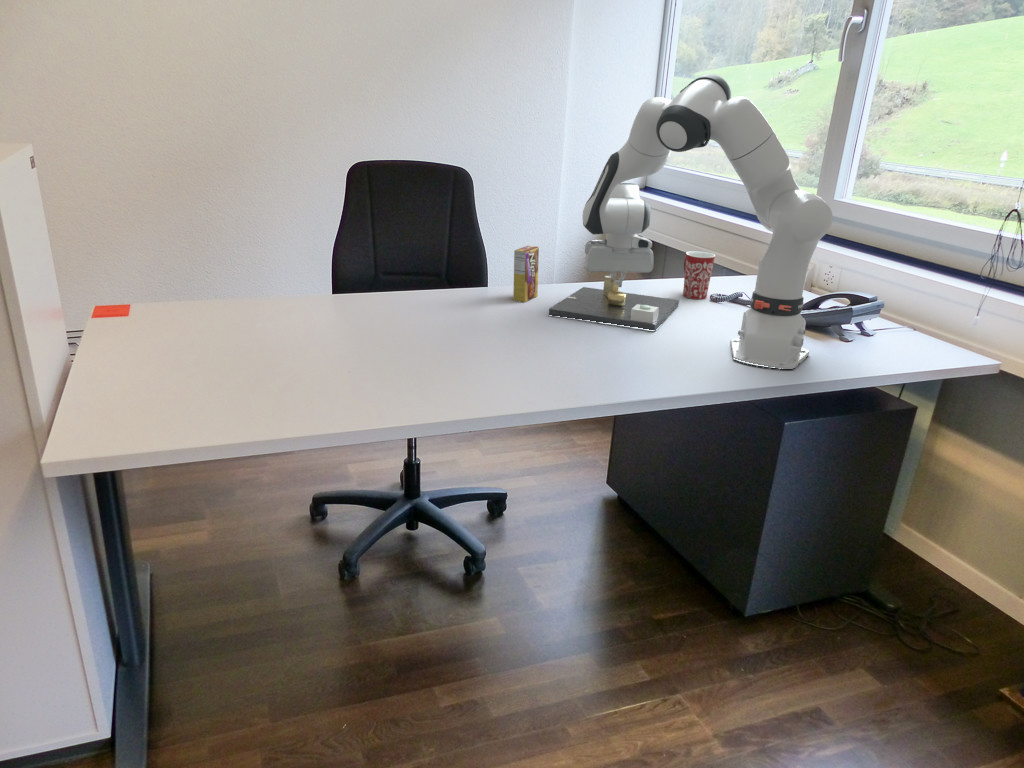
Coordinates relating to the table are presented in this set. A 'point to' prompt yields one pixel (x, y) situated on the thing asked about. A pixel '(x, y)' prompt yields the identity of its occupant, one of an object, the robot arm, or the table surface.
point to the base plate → (616, 309)
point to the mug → (697, 274)
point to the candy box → (526, 273)
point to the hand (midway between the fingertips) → (616, 286)
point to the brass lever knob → (613, 292)
